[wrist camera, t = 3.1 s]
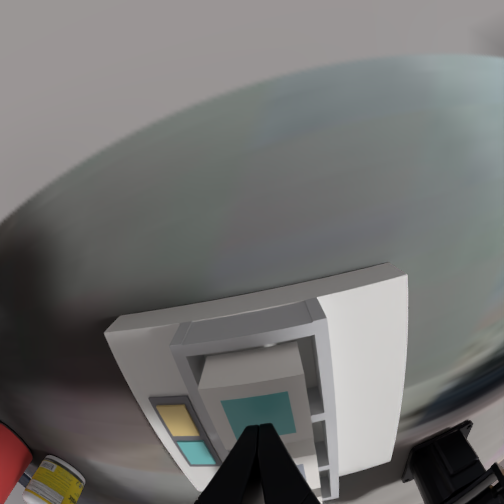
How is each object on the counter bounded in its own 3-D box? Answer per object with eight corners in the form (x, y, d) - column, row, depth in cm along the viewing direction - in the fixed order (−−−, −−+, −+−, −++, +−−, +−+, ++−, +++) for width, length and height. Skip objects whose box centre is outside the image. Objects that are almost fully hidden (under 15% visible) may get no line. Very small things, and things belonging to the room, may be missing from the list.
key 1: (307, 404, 11) (314, 438, 9) (229, 416, 11) (225, 450, 9) (296, 341, 10) (304, 374, 8) (206, 356, 10) (197, 389, 8)
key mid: (315, 459, 12) (320, 487, 10) (252, 468, 12) (251, 497, 10) (310, 421, 11) (316, 454, 9) (236, 432, 11) (233, 465, 9)
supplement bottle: (82, 486, 20) (56, 541, 10) (45, 461, 19) (13, 512, 10) (91, 476, 19) (61, 540, 9) (48, 447, 18) (11, 506, 9)
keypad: (383, 442, 16) (398, 479, 12) (201, 472, 17) (194, 510, 13) (388, 262, 13) (429, 289, 9) (120, 315, 14) (84, 352, 10)
